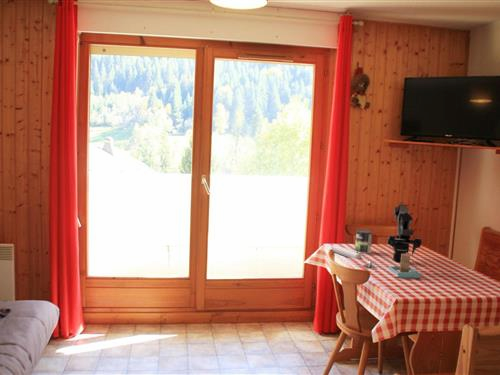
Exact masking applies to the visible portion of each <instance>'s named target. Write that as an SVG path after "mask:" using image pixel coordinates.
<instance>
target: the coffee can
mask: <svg viewBox="0 0 500 375" xmlns="http://www.w3.org/2000/svg"><path fill="white" fill-rule="evenodd" d="M355 232H356V234H355V245H354V246H355V247H354V252H356V253H357V252H358V253H359V254H361V255H363V254H368V255H369V254H371V249H372V248H371V247H372V236H373V231H371V230H369V229H356V231H355Z"/></svg>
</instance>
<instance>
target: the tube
mask: <svg viewBox="0 0 500 375" xmlns="http://www.w3.org/2000/svg"><path fill="white" fill-rule="evenodd" d="M331 248H332V249H333V250H334V252H333V253H336V254H339V255H341V256H343V257H346V258H353V259H357V260H359V259H362V254H361V253H357V252H355V250H350V249H349V248H345V247H343V246H340V245H337V244H336V243H335V244H332V245H331ZM331 248H330V249H331Z"/></svg>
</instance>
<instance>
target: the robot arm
mask: <svg viewBox="0 0 500 375" xmlns="http://www.w3.org/2000/svg"><path fill="white" fill-rule="evenodd" d="M393 216H394V220H396V222H397V236H395V235H388V237H387V242H386V243H387V245H389V246H391V247H392V249H393V256H392V261H393V260H394V261H395V262H396V263H401V254H409V249H410V244H411V245H413V246H412V250H411V251H412V252H411V256H413V255H414V254H415V251H416V249H419V248H421V246H422V242H423V241H422V238H418V237H414V238H413V239H411V236H413V235H414V233H415V232H414V228H413V229H412V228H410V226H411V222H412V221H413V220H414V219H413V217H412V215H411V214H410V212H409V208H408V207H407V204H398V205H397V206H396V207H394V211H393Z"/></svg>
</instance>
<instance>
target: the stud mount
mask: <svg viewBox="0 0 500 375" xmlns="http://www.w3.org/2000/svg"><path fill="white" fill-rule="evenodd" d="M362 267H364V268H365V269H367V270H368V269H370V270H371V269H375V270H378V269H379V268H378V267H376V266H375V265H373V262H372V261H368V263H367V264H365V265H364V264H362Z"/></svg>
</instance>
